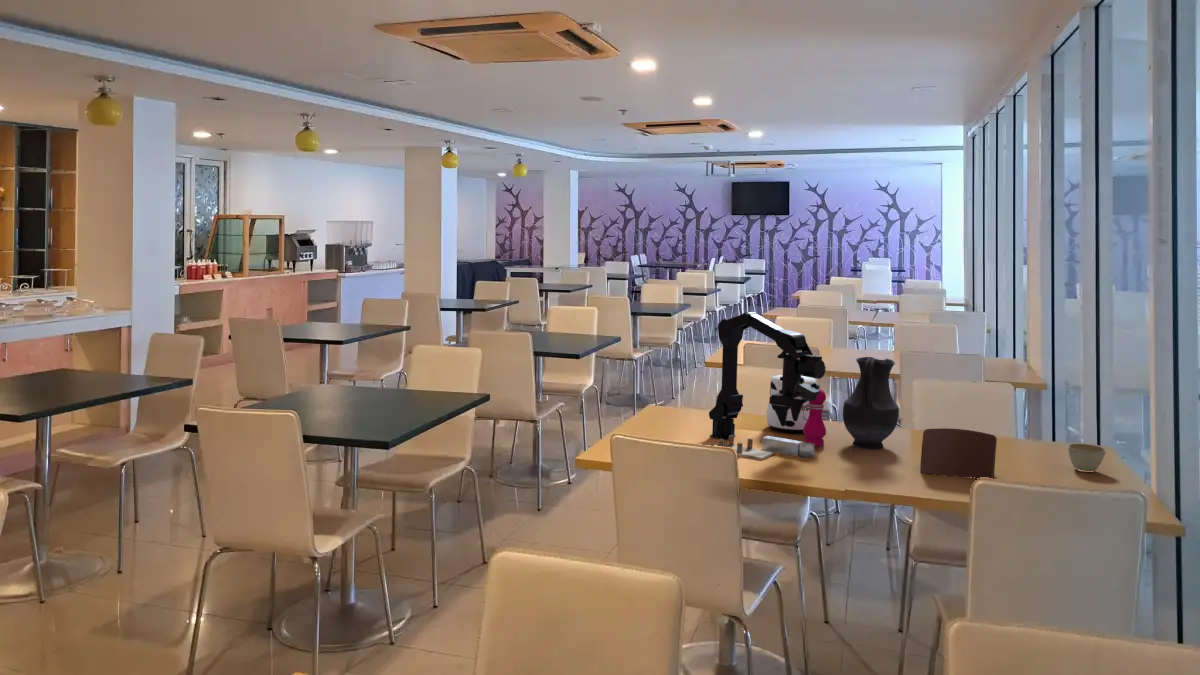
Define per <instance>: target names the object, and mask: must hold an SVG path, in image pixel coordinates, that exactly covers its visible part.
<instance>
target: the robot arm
mask: <svg viewBox="0 0 1200 675" xmlns="http://www.w3.org/2000/svg"><path fill="white" fill-rule="evenodd" d="M749 328H752V329H753V330H756V331H757V332H759V333H760V334H762V335H764V336H766V337H767V338H769V339H771V340H772V341H774V342H775V343H776V346H777V347H779V349H780V350H782V351H781V352H780V353H779V354H778V355H777V356H776V357H777V359H782V373H781V375H782V377H780V380H781V381H782V389H781V390H779V393H780V394H779V393H776V394H773V395H772V396H770V395H769V400H768V401H769V402H768V404H769V403H770V404H771V406H773V408H774V410H775V412H776V414H777V417H778V419H779V421H780V424H781V426H785V424H786V419H787V413H788V410H789V409H791V413H792V417H793V421H797V420H798V417H799V414H800V411H801V408H802V406H803V404H804V403H805V402H807V401H813V400H816V397H817V395H818V394H820V392H819V391H820V390H819V389H820V388H819V385H820V384H819V383H817V382H816V383H813V384H811V385H810V384H806V383H804V379H803V377H801V376H806V377H811V378H814V379H816V380H817V379H819V380H821V379H822V378H824V375H825V373H826V369H827V368H826V364H825V362H824V361H823V356H822V355H813V352H812V350H811V348H810V347H809V345H808V343H807V340H806V336H805V335H804V334H802V333H801V332H797V331H794V330H789V329H785V328H782V327H781V326H779V325H778V324H775V323H773V322H772V321H770V320H769V319H766V318H764V317H763V316H761V315H759V314H758V313H757V312H755V311H747V312H744V313H741V314H739V315H737V316H734V317H731V318H723V319H722V320H720V321H719V322H718V323H717V334H718V339H719V341H720V343H721V345H722V356H721V358H722V361H721V362H722V363H721V367H722V369H721V389H720V391H719V392H718V394H717V396H716V400H715V401H716V402H715V406H714V407H712V409H711V410H710V411H709V412H708V415H709V419H710V420H712V430H711V431H712V432H711V434H710V435H709V437H710V438H717V439H722V440H729V435H733V436H734V438H735V437H736V434H735V430H736V426H735V425H736V424H735V419H737V418H738V415H739V413H740V412H741V410H742V408H743V407H744V404H743V400H744V395H743V394H740V393H739V391H738V389H737V387H738V357H739V356H738V352H739V349H738V348H739V344H740V343H741V342H742V339H743V336H744V331H745V330H747V329H749ZM805 398H806V399H805Z"/></svg>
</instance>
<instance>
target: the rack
mask: <svg viewBox="0 0 1200 675" xmlns="http://www.w3.org/2000/svg"><path fill="white" fill-rule="evenodd" d="M724 441H725V439H721V438H718V442H717V443H715V444H713V445H717V446H722V447H723V446H724V447H730V448H733V449H734V450H735V451H736V453H737V455H738V456H737V457H743V458H746V459H747V458H748V459H752V460H758V461H764V460H766V459H768V458H770V457H772V456H774V455H775V454H776V452H772V451H766V450H762V449H759V448H756V447H753V445H754V444H753V443H754V441H753V438H747V440H746V441H747V443H746V444H747V446H743V443H742V442H737V444H734V442H735V437H734V436H733V435H729V439H728V443H725V442H724Z"/></svg>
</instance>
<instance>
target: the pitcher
mask: <svg viewBox="0 0 1200 675" xmlns="http://www.w3.org/2000/svg"><path fill="white" fill-rule="evenodd" d="M855 360H856V363H857V364H858V367H859V372H860V377H859V380H858V381H857V384H856V387H855V388H854V389H853V392H851V394H850V396H849V397H848V398H847V399H845V401H844V403H843V407H842V420H843V424H844V427H845V429H846V430H847V432H848V433H849V435H850V436H851V437H852V438H853V439H854V440H853V442H852V445H853V446H854V447H855V448H858V449H864V450H870V451H871V450H872V451H873V450H874V451H875V450H876V451H877V450H882V449H884V444H883V441H884V440H886V439H887V438H888V437H890V436H891V435H892V433H893V432H894V430H895V429H896V427H897V424H898V421H899V417H900V416H899V414H900V408H899V404H897V403H896V402H895V400H894V399H893V396H892V394H891V390H890V389H891V388H890V375H891V374H890V373H891V371H892V369H893V367H894V366H895V364H896V361H895V360H893V359H890V358H886V359H885V358H884V359H879V358H875V357H872V356H865V357H864V356H863V357H857V358H856V359H855Z"/></svg>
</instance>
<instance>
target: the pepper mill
mask: <svg viewBox="0 0 1200 675" xmlns="http://www.w3.org/2000/svg"><path fill="white" fill-rule="evenodd" d="M820 388H821V386H820V384H819V390H820V391H819V392H820V394H818V395H817V397H816V400H813V401H809V403H808V408H809V417H808V420H807V422H806V424H805V426H804V429H803V435H804V436H805V437H804V439H803V442H811V443H814V444H815V447H816V448H820V447H821V448H822V447H823V446H824V445H825V440H824V437H826V434H827V429H826V425H825V423H824V420H823V410H824V409H825V407H824V406H825V401H826V399H827V395H826V392H825V391H824V390H822V389H820Z"/></svg>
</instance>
